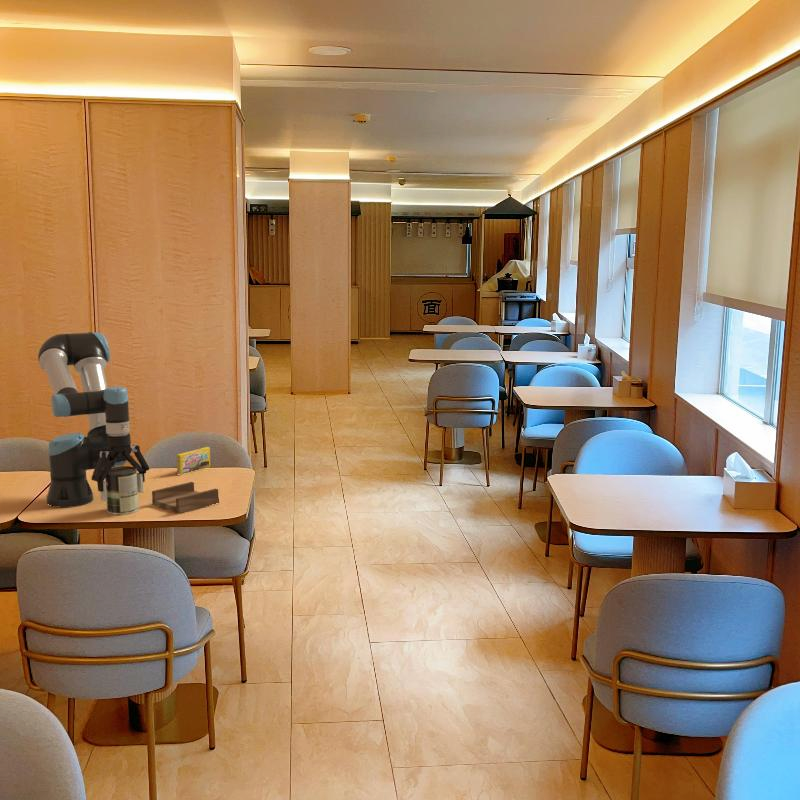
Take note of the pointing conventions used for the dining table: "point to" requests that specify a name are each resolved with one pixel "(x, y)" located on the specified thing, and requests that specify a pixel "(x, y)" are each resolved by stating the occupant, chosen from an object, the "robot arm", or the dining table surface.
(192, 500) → the stand
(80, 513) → the dining table surface
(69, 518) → the dining table surface
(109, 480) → the coffee can
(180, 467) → the candy box
